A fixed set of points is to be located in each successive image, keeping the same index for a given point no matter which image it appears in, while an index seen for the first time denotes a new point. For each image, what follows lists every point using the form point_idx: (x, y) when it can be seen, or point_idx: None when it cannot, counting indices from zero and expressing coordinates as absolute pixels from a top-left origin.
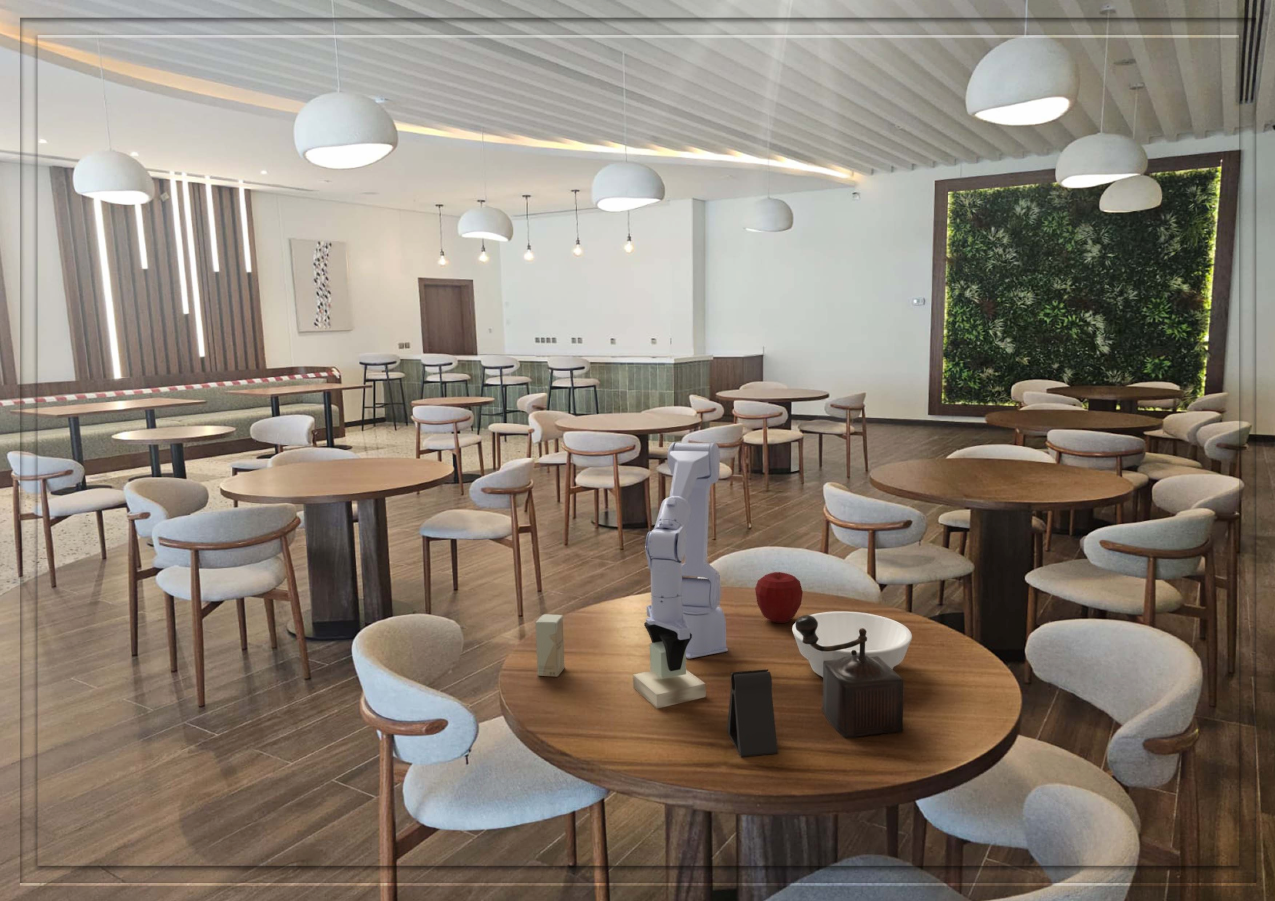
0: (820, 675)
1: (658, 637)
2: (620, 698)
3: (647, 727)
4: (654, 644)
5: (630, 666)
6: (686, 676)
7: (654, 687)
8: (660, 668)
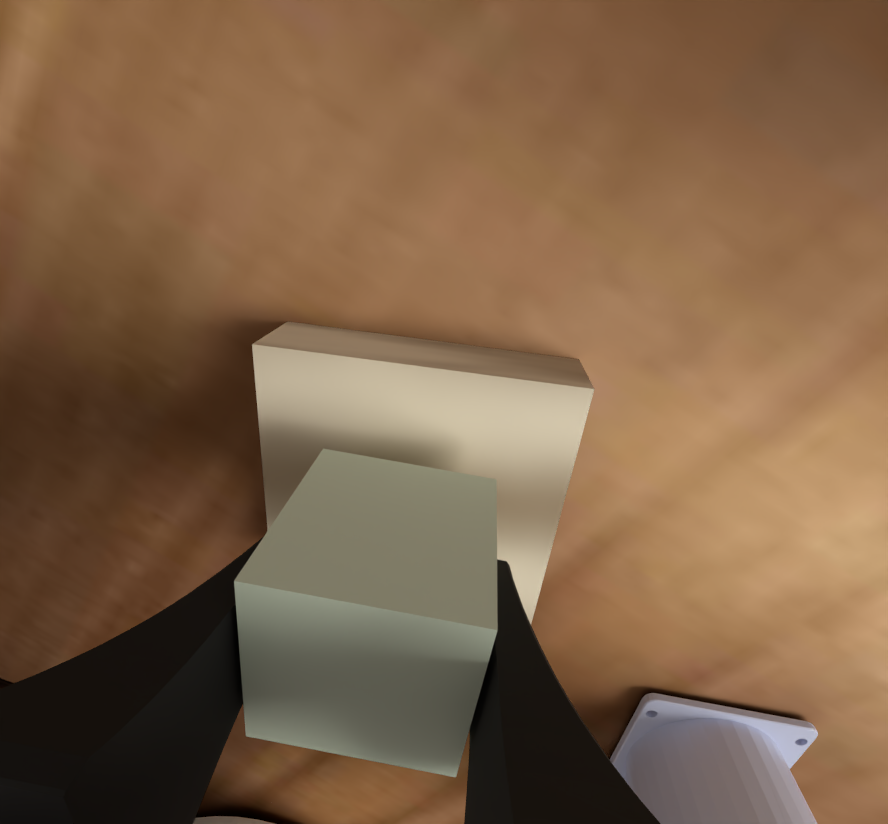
0: (248, 819)
1: (488, 736)
2: (502, 216)
3: (101, 150)
4: (449, 643)
5: (813, 489)
6: None
7: (347, 388)
8: (312, 488)
